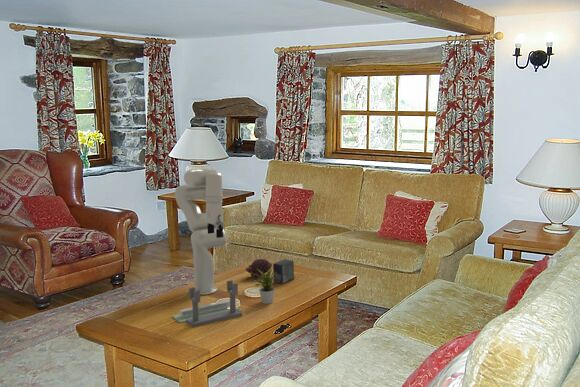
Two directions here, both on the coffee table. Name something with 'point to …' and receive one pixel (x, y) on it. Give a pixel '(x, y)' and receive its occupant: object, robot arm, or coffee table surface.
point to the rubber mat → (198, 315)
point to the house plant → (266, 287)
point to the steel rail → (205, 308)
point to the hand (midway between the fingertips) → (215, 235)
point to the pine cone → (259, 267)
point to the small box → (283, 271)
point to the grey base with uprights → (216, 317)
